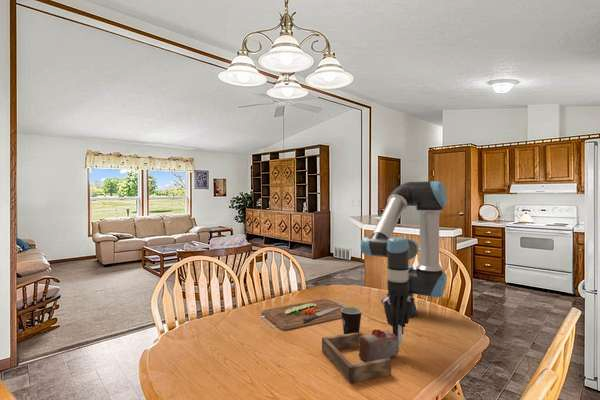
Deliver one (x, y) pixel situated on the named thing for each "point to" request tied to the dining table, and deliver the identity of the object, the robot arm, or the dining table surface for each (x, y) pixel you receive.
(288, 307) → the chopping board
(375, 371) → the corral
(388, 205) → the robot arm
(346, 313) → the coffee mug
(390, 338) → the food item
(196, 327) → the dining table surface
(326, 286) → the dining table surface
